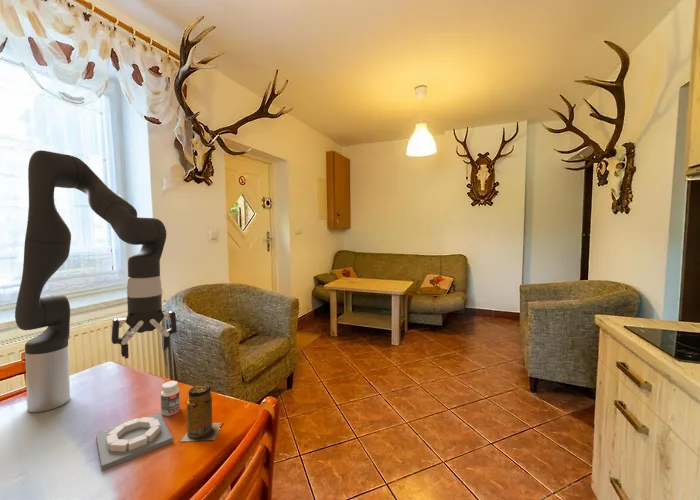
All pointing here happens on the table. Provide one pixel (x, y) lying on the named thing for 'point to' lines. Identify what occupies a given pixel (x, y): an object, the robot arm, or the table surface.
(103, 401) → the table surface
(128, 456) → the socket board
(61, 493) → the table surface
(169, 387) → the pill bottle
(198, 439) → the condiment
